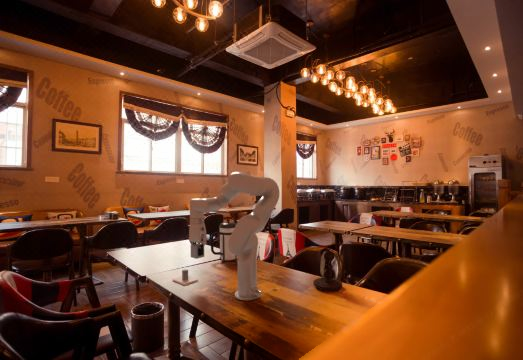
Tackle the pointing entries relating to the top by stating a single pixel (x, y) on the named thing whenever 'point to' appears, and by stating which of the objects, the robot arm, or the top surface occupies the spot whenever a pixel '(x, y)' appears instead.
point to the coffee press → (224, 241)
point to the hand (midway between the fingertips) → (197, 254)
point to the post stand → (185, 278)
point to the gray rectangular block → (195, 251)
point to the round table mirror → (327, 272)
